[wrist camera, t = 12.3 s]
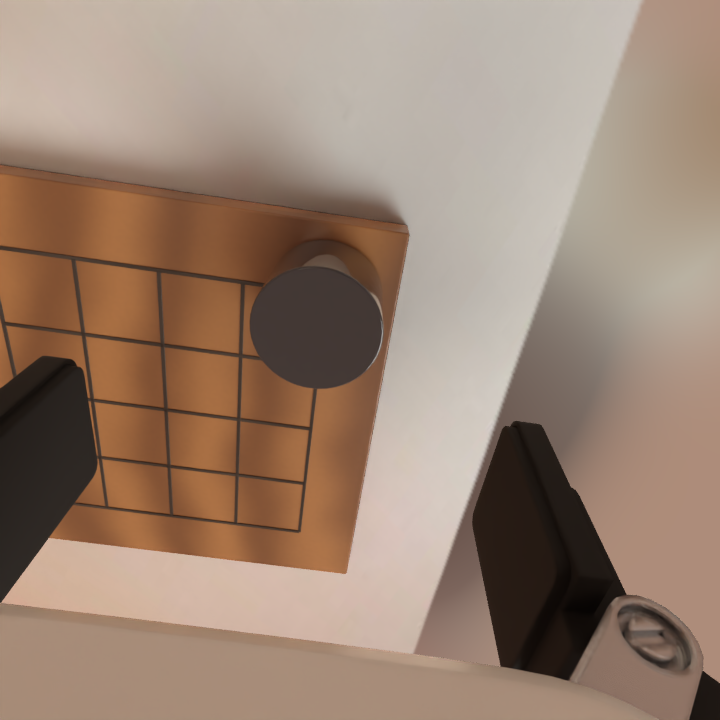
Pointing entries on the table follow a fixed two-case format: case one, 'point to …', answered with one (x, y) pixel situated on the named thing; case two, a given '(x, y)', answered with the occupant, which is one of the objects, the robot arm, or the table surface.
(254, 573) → the table surface
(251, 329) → the dark brown puck
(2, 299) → the board
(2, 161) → the table surface
